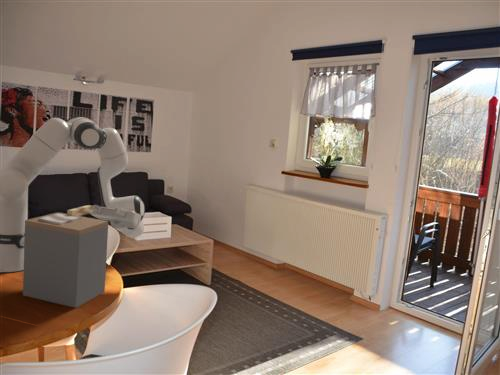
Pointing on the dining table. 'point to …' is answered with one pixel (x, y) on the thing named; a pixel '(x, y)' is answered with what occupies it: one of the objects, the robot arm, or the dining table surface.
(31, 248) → the grey box
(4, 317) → the dining table surface
